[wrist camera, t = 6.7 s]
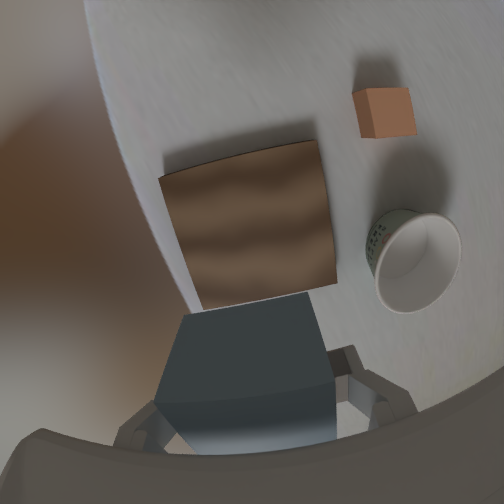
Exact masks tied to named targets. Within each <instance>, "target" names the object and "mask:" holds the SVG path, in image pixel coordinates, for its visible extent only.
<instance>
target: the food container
mask: <svg viewBox="0 0 504 504" xmlns="http://www.w3.org/2000/svg"><path fill="white" fill-rule="evenodd" d="M461 255H462V244H461V238H460V234H459V232H458V230H457V228H456V226H455V225H454V223H453V222H452V221H451V220H450V219H448V218H447V217H445V216H443V215H441V214H438V213H424V214H423V213H419V212H415V211H410V210H405V209H398V210H394V211H391V212H389V213H387V214H385V215H384V216H382V217H381V218H380V219H379V220H378V221H377V222H376V223H375V225H374V226H373V227H372V229H371V231H370V233H369V235H368V238H367V242H366V259H367V262H368V264H369V267H370V269H371V272H372V274H373V277H374V284H375V290H376V294H377V296H378V298H379V300H380V302H381V303H382V304H383V305H384V306H385V307H386V308H387V309H389V310H390V311H393V312H395V313H400V314H410V313H415V312H418V311H421V310H423V309H425V308H427V307H429V306H430V305H432V304H433V303H435V302H436V301H437V300H438V299H439V298H440V297H441V296H442V295H443V294H444V293H445V292H446V291H447V289H448V288H449V287H450V285H451V284H452V282H453V280H454V278H455V276H456V274H457V272H458V269H459V265H460V261H461Z"/></svg>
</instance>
